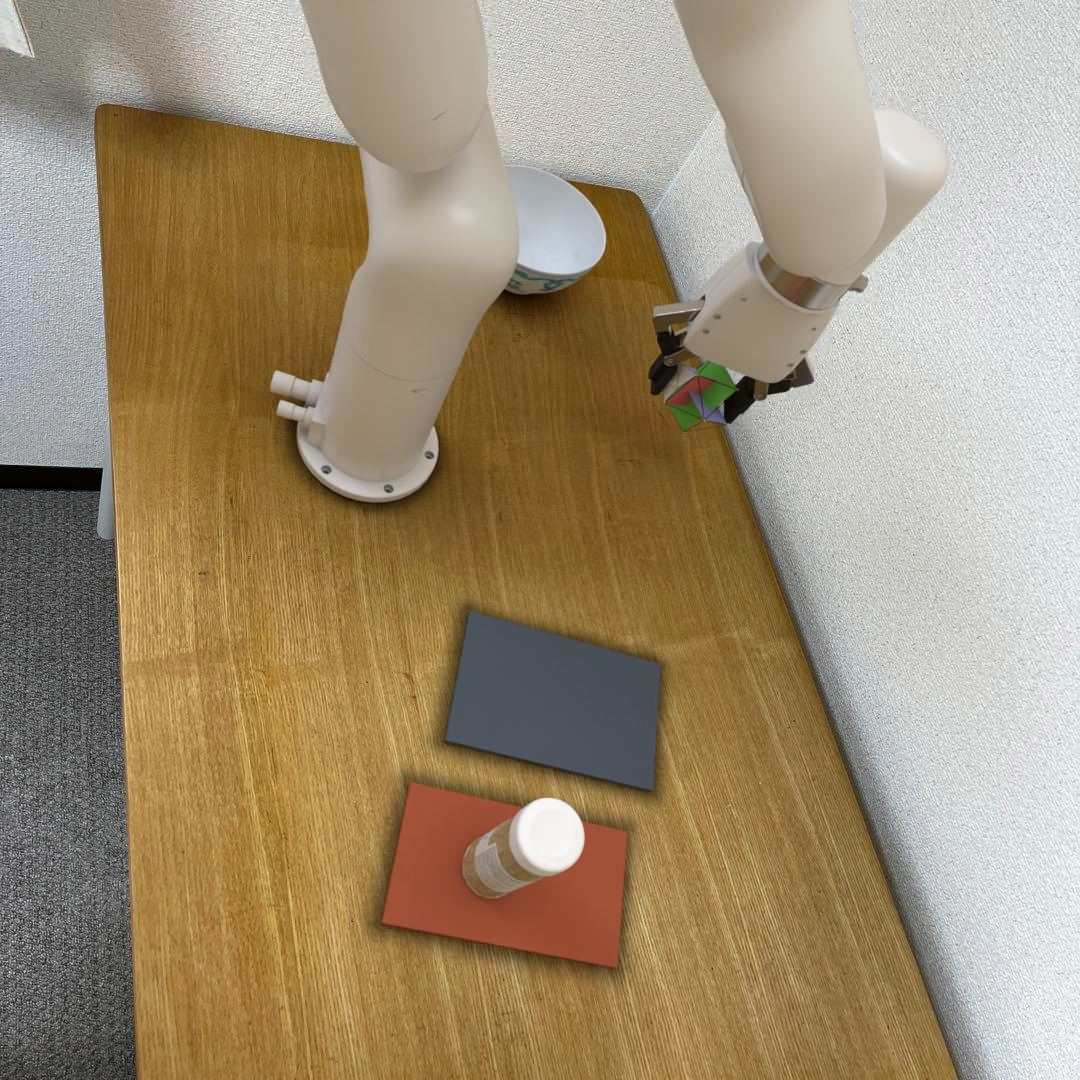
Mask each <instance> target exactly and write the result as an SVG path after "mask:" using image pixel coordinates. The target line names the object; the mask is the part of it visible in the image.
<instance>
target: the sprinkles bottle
mask: <svg viewBox="0 0 1080 1080" xmlns="http://www.w3.org/2000/svg"><path fill="white" fill-rule="evenodd" d="M581 821H582V820H581V818H580V816H579V815H578V812H576V810H575V809H574V808H573V807H572V806H571V804H569V803H567V802H566V801H563V800H561V799H558V798H554V797H541V798H538V799H535V800H533V801H532V802H529V803H528V804H527V805H525V806H523V807H522V809H521V810H520V811H519V812H518V813H517V814H516V816H515V817H513V818H512V819H509V820H507V821H506V822H504V823H502V824H501V825H499V826H498V827H496V828H495V829H493V830H491V831H490V832H488V833H487V834H486V835H484V836H482V837H480V838H478V839H476V840H475V841H474V842H472V843H471V844H470V845H469V847H468V848H467V850H466V852H465V854H464V857H463V862H462V873H463V877H464V879H465V882H466V884H467V885H468V887H469V888H470V890H472V891H473V892H474V893H475V894H476V895H478V896H480V897H483V898H487V899H496V898H500V897H502V896H504V895H506V894H507V893H509V892H511V891H514V890H516V889H519V888H521V887H524V886H526V885H528V884H530V883H533V882H535V881H537V880H540V879H541V878H543V877H544V876H552V875H556V874H558V873H560V872H563V871H564V870H566V869H568V868H570V867H571V866H572V865H573V864H574V863H575V862H576V861H577V860H578V858H579V857H580V855H581V853H582V850H583V847H584V840H585V836H584V828H583V825H582V822H581Z"/></svg>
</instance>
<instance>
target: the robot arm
mask: <svg viewBox="0 0 1080 1080" xmlns="http://www.w3.org/2000/svg"><path fill="white" fill-rule="evenodd" d="M672 3H673V6H674V10H675V12H676V14H677V17H678V20H679V23H680V25H681V27H682V30H683V32H684V35H685V38H686V42H687V44H688V46H689V49H690V51H691V55H692V57H693V59H694V62H695V65H696V67H697V70H698V71H699V73H700V76H701V77H702V80H703V82H704V84H705V86H706V88H707V90H708V91H709V93H710V95H711V98H712V100H713V101H714V103H715V105H716V107H717V109H718V111H719V114H720V116H721V118H722V120H723V122H724V135H725V136H724V137H725V142H726V147H727V150H728V153H729V157H730V160H731V162H732V164H733V167H734V169H735V171H736V174H737V177H738V179H739V182H740V185H741V187H742V190H743V192H744V194H745V195H746V198H747V201H748V204H749V205H750V208H751V210H752V213H753V215H754V218H755V221H756V223H757V225H758V228H759V230H760V234H761V237H762V238H763V239H762V241H761V243H760V242H757V241H751V242H749V243H747V244H745V245H744V246H743V247H742V248H740V250H738V251H737V252H736V253H734V254H733V255H732V256H730V258H729V259H728V260H727V261H726V262H724V264H723V265H721V267H719V269H717V271H715V272H714V273H713V274H712V275H711V277H710V278H709V279H708V280H707V281H706V282H705V283H704V284H703V286H702V287H701V288H700V289H699V290H698V291H697V292H696V294H695V295H694V297H692V299H691V300H688V301H683V302H675V303H669V304H668V303H667V304H661V305H655V306H654V307H653V309H652V318H651V320H652V325H653V329H654V333H655V335H656V342H657V344H658V347H659V349H660V353H659V354H658V356H657V358H656V359H655V360H654V361H653V363H652V364H651V365H650V368H649V370H648V374H647V379H648V380H650V389H649V393H650V395H652V396H654V397H657V396H660V394H662V392H663V389H664V388H665V387H666V385H667V384H668V383H669V382H670V380H671V379H672V378H673V377H674V375H675V374H676V373H677V369H678V364H679V363H681V364H682V363H683V362H685V361H688V360H691V358H692V359H693V358H695V357H696V356H697V357H698V358H701V359H703V360H705V361H707V360H708V361H711V362H713V363H715V364H718V365H720V366H723V367H725V368H726V369H729V370H730V371H734V372H736V373H738V374H741V375H744V376H742V377H741V378H740V379H739V381H737V383H735V384H736V385H735V386H736V388H737V389H739V390H737V391H736V392H737V394H736V392H735V393H734V394H733V395H732V396H731V397H729V398H728V399H727V398H726V399H727V400H726V399H725V400H726V401H725V400H724V401H725V402H724V401H723V402H724V403H723V418H724V420H725V421H726V423H728V425H731V424H732V423H734V421H735V420H737V418H738V417H739V416H740V415H743V414H745V413H746V412H747V411H748V410H749V409H750V408H751V406H752V405H753V404H755V402H756V401H757V402H762V401H765V400H767V397H768V396H771V395H777V394H782V393H787V392H789V391H790V390H791V389H792V388H793V389H796V388H800V387H805V386H808V385H811V384H813V383H814V382H815V370H814V367H813V364H812V362H811V360H810V357H809V355H808V353H809V352H810V351H811V350H812V348H814V346H815V344H816V343H817V342H818V341H819V340H820V338H821V337H822V335H823V334H824V332H825V330H826V329H827V328H828V325H829V324H830V322H831V321H832V319H833V317H834V316H835V314H836V311H838V308H839V306H840V301H841V299H842V298H843V297H844V296H845V295H846V293H848V292H855V293H859V294H861V293H863V292H864V291H865V290H866V288H867V287H868V284H869V278H868V277H867V276H865V275H863V273H864V272H865V271H866V270H867V269H868V268H869V267H870V266H871V265H872V264H873V263H874V261H875V260H876V259H877V258H878V257H879V256H880V255H881V254H882V253H883V252H884V251H885V250H886V249H887V248H888V247H889V245H891V244H892V243H893V241H895V239H896V238H897V237H898V236H899V235H900V234H901V233H902V232H903V231H904V230H905V229H906V228H907V226H909V224H910V223H912V221H913V220H914V219H915V218H916V217H917V216H918V215H919V214H920V213H921V212H922V211H923V209H924V208H926V206H928V204H929V203H930V202H931V201H932V200H933V199H934V198H935V196H936V195H937V194H939V192H940V190H941V189H943V186H944V185H945V183H946V181H947V177H948V175H949V170H950V169H949V166H950V165H949V158H948V155H947V151H946V150H945V148H944V146H943V144H942V143H941V141H940V140H939V138H938V137H937V136H936V135H935V133H933V132H932V131H931V130H930V129H929V128H928V127H927V126H925V124H924V123H923V122H921V121H919V120H918V119H917V118H915V117H913V116H912V115H910V114H909V113H906V112H904V111H902V110H899V109H895V108H888V107H887V108H886V107H885V108H883V107H882V108H874V107H873V103H872V98H871V93H870V89H869V87H868V82H867V78H866V75H865V71H864V66H863V62H862V58H861V55H860V50H859V46H858V41H857V36H856V32H855V27H854V21H853V16H852V10H851V6H850V1H849V0H672ZM299 4H300V7H301V10H302V13H303V15H304V18H305V22H306V24H307V25H306V26H307V27H308V31H309V34H310V37H311V40H312V43H313V46H314V49H315V55H316V59H317V64H318V68H319V71H320V75H321V78H322V82H323V85H324V88H325V91H326V94H327V96H328V98H329V100H330V102H331V105H332V107H333V109H334V111H335V113H336V115H337V117H338V118H339V121H340V122H341V123H342V125H343V126H344V127H345V129H346V131H347V133H348V134H349V135H350V136H351V137H352V138H353V139H354V141H355V142H356V143H357V144H358V153H359V159H360V164H361V170H362V179H363V190H364V196H365V203H366V208H367V209H366V210H367V220H368V242H367V243H368V244H367V251H366V256H365V259H364V260H363V263H362V264H361V265H360V266H359V267H358V269H357V270H356V272H355V273H354V276H353V278H352V281H351V284H350V286H349V290H348V292H347V296H346V300H345V304H344V308H343V313H342V318H341V323H340V327H339V331H338V335H337V340H336V343H335V347H334V353H333V355H332V359H331V364H330V367H329V371H328V372H327V373H326V376H325V379H324V380H323V381H320V380H317V379H315V378H312V381H307V380H304V379H301V378H298V377H297V376H295V375H292V374H290V373H286V372H283V371H280V370H277V369H276V370H275V371H274V373H273V374H272V378H271V382H270V384H269V392H271V393H274V394H277V395H280V396H282V397H286V398H288V399H290V398H292V399H295V400H299V401H302V402H305V403H304V406H303V407H302V406H300V405H296V404H295V403H292V402H290V401H287V400H283V399H280V400H279V403H278V405H277V409H276V413H275V416H277V417H281V418H284V419H287V420H293V421H297V426H296V445H297V449H298V452H299V454H300V457H301V459H302V462H303V463H304V465H305V466H306V468H307V469H308V470H309V472H310V474H311V475H313V476H314V478H315V479H317V480H318V481H319V482H320V483H321V484H322V485H324V486H325V487H326V488H328V489H329V490H331V491H333V492H335V493H336V494H338V495H341V496H343V497H345V498H348V499H352V500H354V501H359V502H366V503H372V504H373V503H388V502H393V501H398V500H401V499H403V498H406V497H409V496H410V495H412V494H413V493H415V492H416V491H418V490H419V489H421V487H423V486H424V484H425V483H426V482H427V481H428V480H429V479H430V476H431V475H432V473H433V471H434V469H435V466H436V464H437V461H438V457H439V450H440V449H439V439H438V434H437V430H436V428H435V426H434V425H435V423H436V421H437V418H438V416H439V413H440V411H441V409H442V407H443V405H444V402H445V400H446V397H447V395H448V392H450V391H449V390H450V389H451V386H452V383H454V382H453V381H454V379H455V377H456V375H457V372H458V370H459V368H460V365H461V363H462V360H463V358H464V355H465V353H466V351H467V349H468V348H469V344H470V343H471V340H472V337H473V336H474V334H475V331H476V330H477V328H478V326H479V324H480V322H481V321H482V319H483V317H484V316H485V314H486V313H487V311H488V310H489V308H490V307H491V306H492V305H493V303H495V302H496V300H497V299H498V298H499V297H500V295H501V294H502V293H503V291H505V289H504V288H505V287H506V286H507V284H508V283H509V281H510V279H511V277H512V275H513V273H514V271H515V268H516V264H517V260H518V254H519V228H518V220H517V213H516V208H515V203H514V198H513V194H512V190H511V186H510V182H509V178H508V174H507V170H506V166H505V165H506V163H505V159H504V158H503V155H502V151H501V147H500V143H499V138H498V135H497V131H496V126H495V123H494V118H493V114H492V110H491V106H490V101H489V95H488V85H489V55H488V48H487V41H486V34H485V27H484V23H483V19H482V15H481V10H480V5H479V2H478V0H299ZM683 323H690V324H689V325H687V326H686V327H683V328H681V329H679V330H677V331H674V328H673V326H672V325H677V324H683ZM708 361H707V362H708ZM735 396H736V397H735ZM734 399H735V400H734ZM733 403H734V404H733ZM732 406H733V407H732ZM731 410H732V411H731ZM730 413H731V414H730ZM729 417H730V418H729ZM728 420H729V421H728Z"/></svg>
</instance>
